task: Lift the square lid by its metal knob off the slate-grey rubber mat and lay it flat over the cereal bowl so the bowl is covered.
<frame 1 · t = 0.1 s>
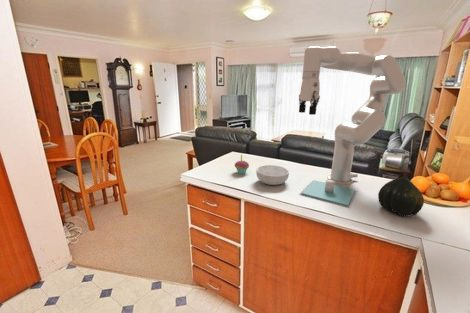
hand: (306, 113, 113), 37 cm above the worktop, tool pointing down, fingers open, 9 cm apart
squash: (396, 211, 97), on the worktop
lid: (328, 192, 112), resting on mat
cereal bowl: (271, 183, 124), on the worktop
cupcake: (241, 172, 138), on the worktop
mat: (328, 193, 112), on the worktop
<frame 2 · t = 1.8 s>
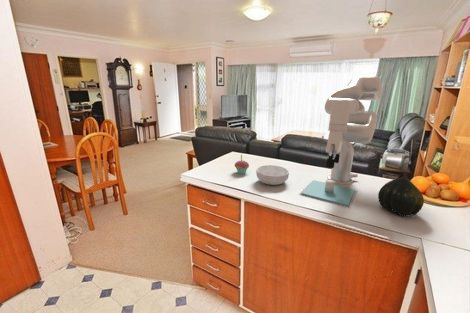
hand: (332, 164, 107), 15 cm above the worktop, tool pointing down, fingers open, 9 cm apart
nothing on the worktop moved.
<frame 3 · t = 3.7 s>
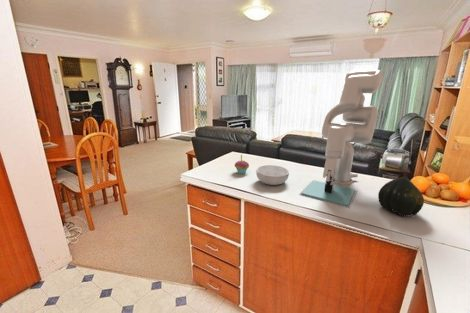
hand: (329, 190, 111), 2 cm above the worktop, tool pointing down, fingers closed on lid, 4 cm apart
lid: (328, 192, 112), resting on mat, touching gripper
everything else where it was.
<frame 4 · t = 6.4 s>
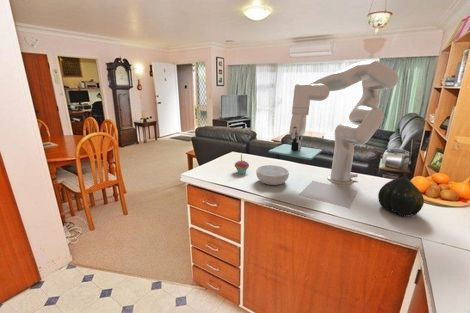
hand: (296, 149, 113), 20 cm above the worktop, tool pointing down, fingers closed on lid, 4 cm apart
lid: (295, 151, 114), point 18 cm above the worktop, touching gripper
everything else where it was.
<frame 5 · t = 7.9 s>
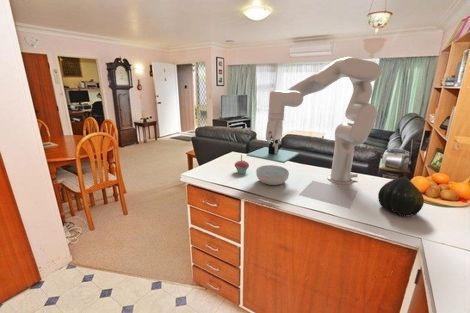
hand: (273, 152, 120), 16 cm above the worktop, tool pointing down, fingers closed on lid, 4 cm apart
lid: (273, 154, 120), point 15 cm above the worktop, touching gripper
everything else where it was.
when the fingers open (10 cm above the worktop, at t = 9.3 s): lid drops 1 cm, resting on cereal bowl.
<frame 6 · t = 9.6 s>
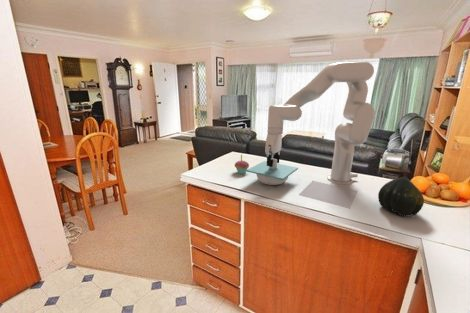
hand: (272, 164, 121), 10 cm above the worktop, tool pointing down, fingers open, 7 cm apart
lid: (272, 170, 122), point 7 cm above the worktop, touching cereal bowl
cereal bowl: (271, 183, 124), on the worktop, touching lid
everything else where it was.
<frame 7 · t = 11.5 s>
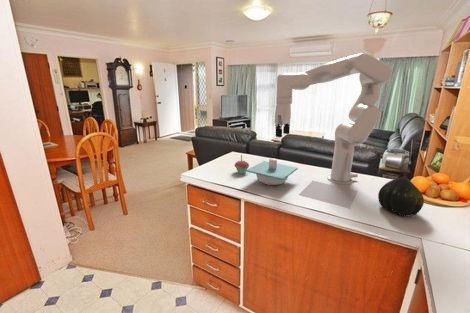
hand: (282, 135, 119), 25 cm above the worktop, tool pointing down, fingers open, 9 cm apart
nothing on the worktop moved.
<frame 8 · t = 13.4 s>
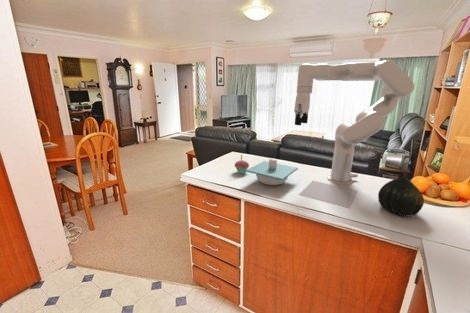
hand: (301, 124, 123), 30 cm above the worktop, tool pointing down, fingers open, 9 cm apart
nothing on the worktop moved.
at the end: lid 0.1 cm off-centre on the cereal bowl, point 7.2 cm above the cereal bowl's base; lid tilted 0°; the gripper is holding nothing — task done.
